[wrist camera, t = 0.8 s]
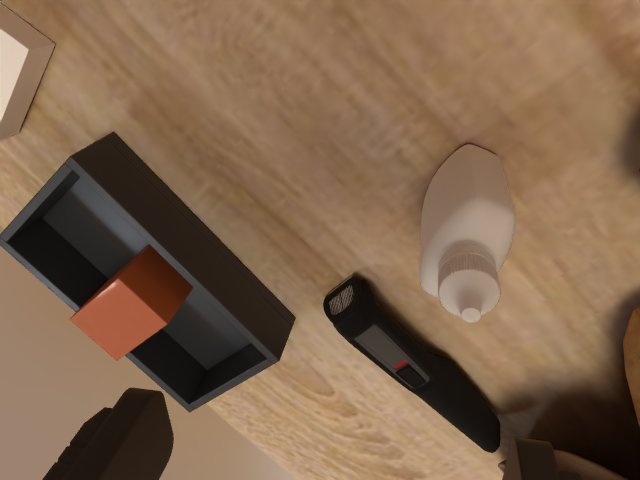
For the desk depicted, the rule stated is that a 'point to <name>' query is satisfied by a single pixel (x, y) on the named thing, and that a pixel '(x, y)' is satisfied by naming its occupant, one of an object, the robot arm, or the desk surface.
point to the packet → (133, 303)
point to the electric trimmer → (410, 361)
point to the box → (19, 69)
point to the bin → (174, 246)
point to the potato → (633, 358)
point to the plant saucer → (579, 467)
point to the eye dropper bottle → (466, 232)
